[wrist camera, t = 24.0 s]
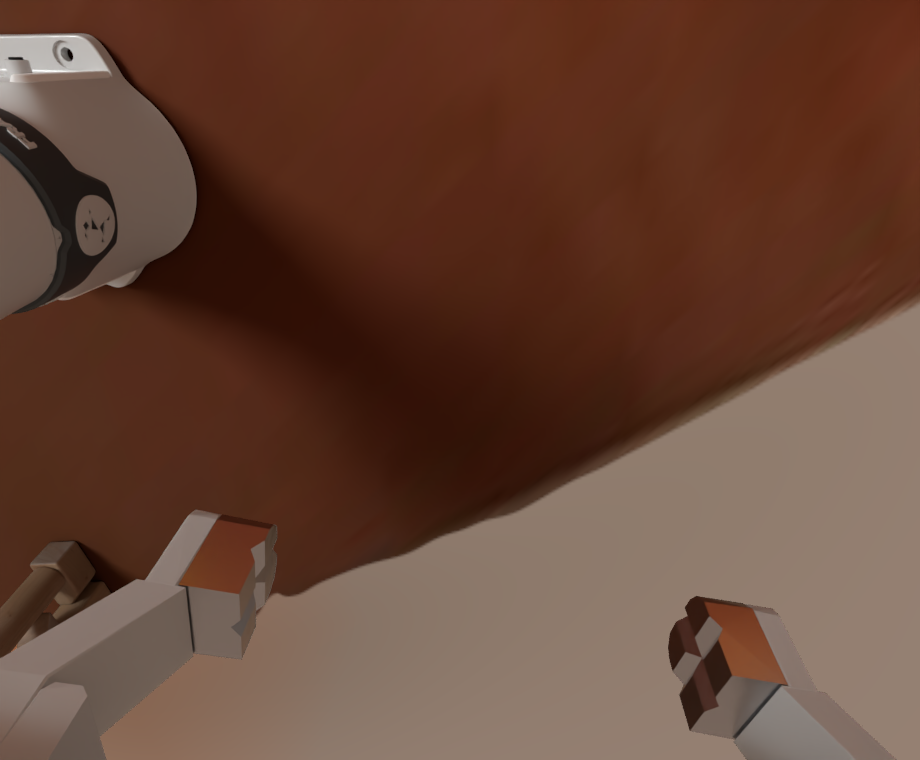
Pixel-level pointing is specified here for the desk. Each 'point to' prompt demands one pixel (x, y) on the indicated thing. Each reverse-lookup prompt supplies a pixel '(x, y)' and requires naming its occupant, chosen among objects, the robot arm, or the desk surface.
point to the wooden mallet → (49, 594)
